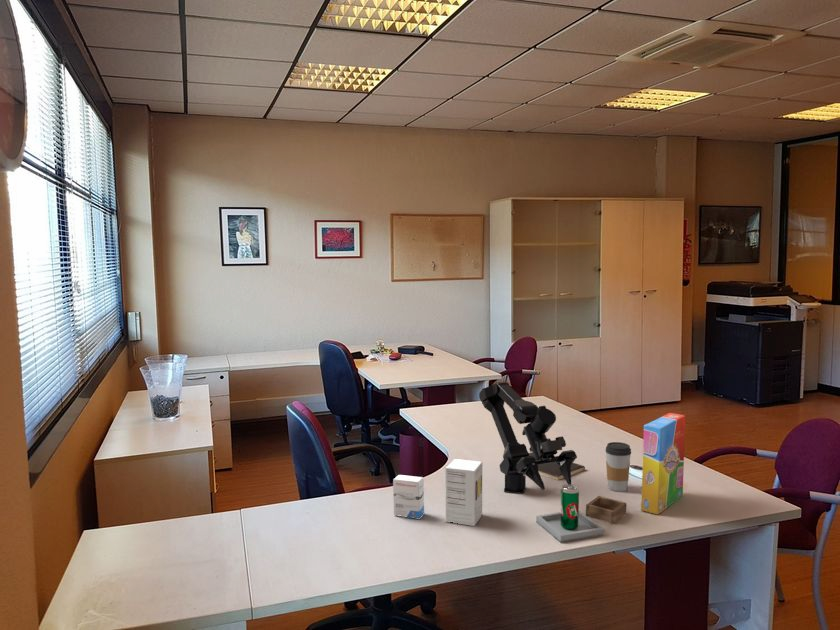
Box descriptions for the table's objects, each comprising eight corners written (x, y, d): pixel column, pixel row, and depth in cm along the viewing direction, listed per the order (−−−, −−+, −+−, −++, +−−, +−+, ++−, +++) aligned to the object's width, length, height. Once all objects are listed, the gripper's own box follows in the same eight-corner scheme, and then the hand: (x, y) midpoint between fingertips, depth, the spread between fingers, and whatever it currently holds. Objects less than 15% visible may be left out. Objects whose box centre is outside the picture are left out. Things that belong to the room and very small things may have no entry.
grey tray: (560, 542, 175) (560, 535, 175) (536, 522, 188) (536, 515, 188) (604, 535, 179) (604, 528, 179) (577, 515, 192) (577, 509, 192)
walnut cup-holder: (585, 515, 192) (586, 504, 192) (598, 506, 199) (598, 495, 199) (614, 523, 186) (614, 512, 186) (626, 513, 193) (626, 502, 193)
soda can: (563, 521, 187) (563, 482, 186) (580, 525, 185) (580, 485, 183) (558, 528, 183) (559, 488, 181) (576, 532, 180) (576, 491, 179)
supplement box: (474, 526, 185) (474, 471, 184) (444, 522, 189) (444, 467, 187) (483, 514, 194) (483, 461, 193) (454, 510, 198) (454, 457, 196)
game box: (657, 515, 192) (660, 428, 189) (640, 510, 195) (642, 425, 193) (683, 495, 207) (686, 414, 204) (666, 491, 211) (668, 411, 208)
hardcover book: (557, 482, 222) (557, 476, 222) (508, 465, 240) (508, 459, 239) (585, 471, 232) (585, 465, 232) (536, 456, 250) (536, 450, 249)
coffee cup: (631, 493, 209) (632, 449, 207) (605, 492, 211) (606, 448, 209) (628, 484, 217) (629, 442, 216) (603, 483, 219) (604, 441, 217)
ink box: (424, 513, 195) (424, 476, 194) (419, 520, 191) (419, 482, 189) (399, 510, 198) (398, 473, 197) (393, 516, 193) (392, 479, 192)
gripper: (521, 431, 188) (540, 479, 179) (574, 424, 195) (595, 470, 186) (508, 449, 197) (526, 496, 188) (559, 442, 203) (579, 487, 194)
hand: (557, 487), depth 189 cm, fingers open, 9 cm apart
